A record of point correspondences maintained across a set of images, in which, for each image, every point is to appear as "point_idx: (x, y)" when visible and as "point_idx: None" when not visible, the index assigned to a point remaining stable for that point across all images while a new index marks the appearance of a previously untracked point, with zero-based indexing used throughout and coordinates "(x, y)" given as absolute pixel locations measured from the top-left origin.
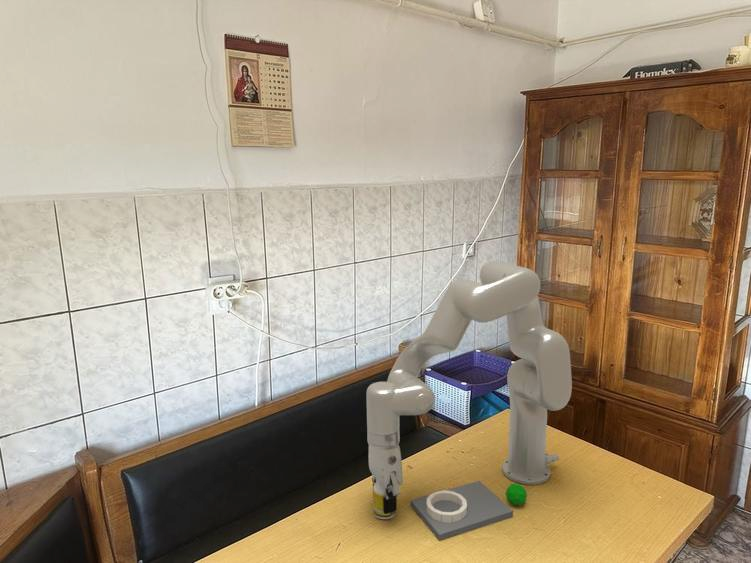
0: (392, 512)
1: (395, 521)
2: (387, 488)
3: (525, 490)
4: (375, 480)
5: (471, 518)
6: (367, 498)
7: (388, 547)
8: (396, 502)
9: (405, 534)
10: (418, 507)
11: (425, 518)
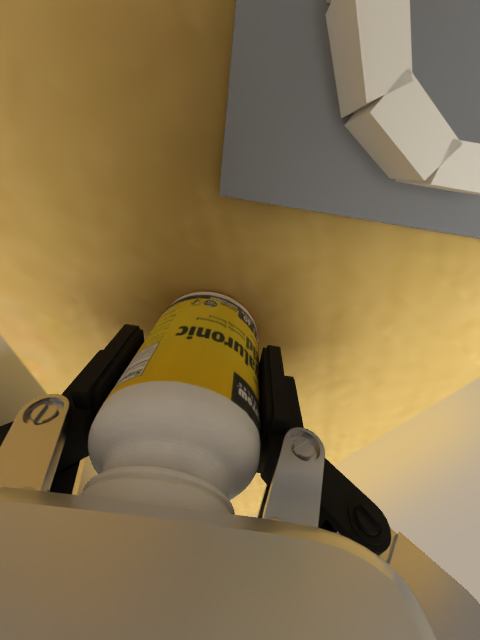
0: (257, 341)
1: (282, 326)
2: (233, 490)
3: None
4: (79, 468)
5: None
6: (84, 334)
7: (373, 408)
8: (283, 377)
9: (374, 338)
10: (314, 199)
11: (421, 228)
